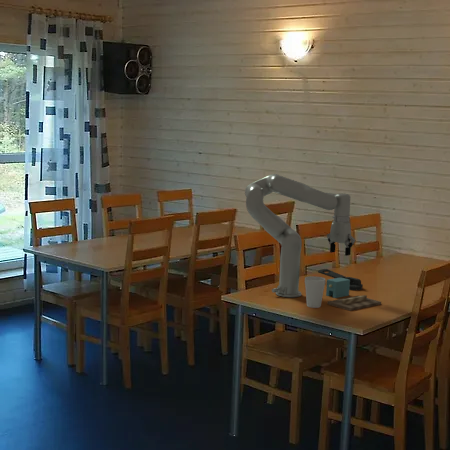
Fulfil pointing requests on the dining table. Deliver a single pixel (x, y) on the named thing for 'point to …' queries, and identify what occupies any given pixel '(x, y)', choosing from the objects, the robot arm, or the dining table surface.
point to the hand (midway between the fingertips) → (340, 253)
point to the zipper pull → (354, 282)
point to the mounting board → (354, 303)
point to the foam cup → (314, 291)
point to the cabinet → (338, 287)
